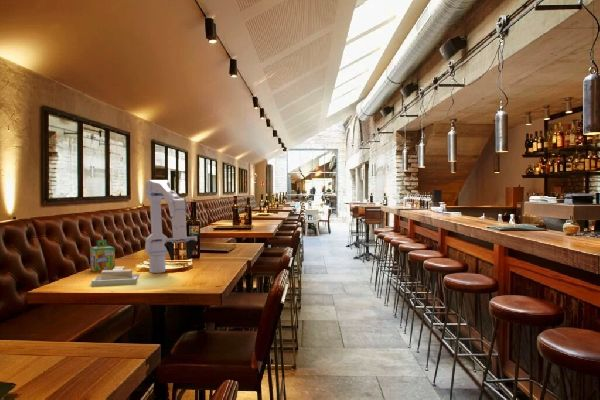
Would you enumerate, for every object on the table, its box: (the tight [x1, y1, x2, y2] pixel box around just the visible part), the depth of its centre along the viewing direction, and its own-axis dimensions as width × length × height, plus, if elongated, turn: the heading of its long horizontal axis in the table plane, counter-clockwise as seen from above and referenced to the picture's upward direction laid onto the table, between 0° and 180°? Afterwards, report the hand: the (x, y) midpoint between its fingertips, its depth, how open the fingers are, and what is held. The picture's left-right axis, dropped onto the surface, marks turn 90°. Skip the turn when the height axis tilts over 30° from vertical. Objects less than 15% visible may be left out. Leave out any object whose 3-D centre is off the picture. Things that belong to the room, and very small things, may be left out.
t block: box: [100, 266, 133, 280], centre depth 206 cm, size 12×12×4 cm
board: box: [89, 273, 141, 287], centre depth 203 cm, size 22×18×1 cm
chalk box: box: [89, 239, 116, 272], centre depth 229 cm, size 9×9×15 cm
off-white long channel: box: [91, 277, 138, 287], centre depth 195 cm, size 5×17×2 cm, turn 105°
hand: (181, 259), depth 198 cm, fingers open, 7 cm apart
